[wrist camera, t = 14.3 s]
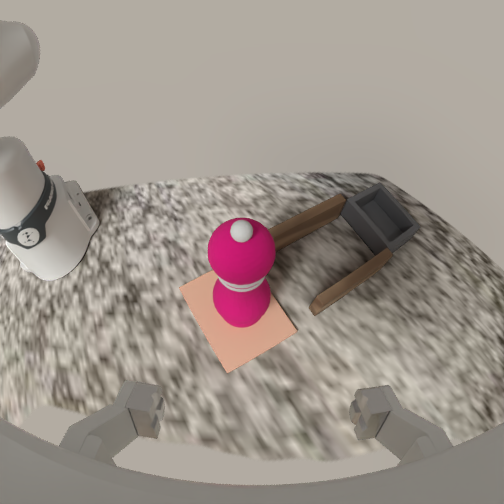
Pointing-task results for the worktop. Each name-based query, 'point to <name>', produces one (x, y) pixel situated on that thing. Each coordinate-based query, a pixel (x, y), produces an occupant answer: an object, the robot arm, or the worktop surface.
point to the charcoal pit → (379, 219)
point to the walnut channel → (313, 221)
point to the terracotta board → (227, 336)
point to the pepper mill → (241, 270)
